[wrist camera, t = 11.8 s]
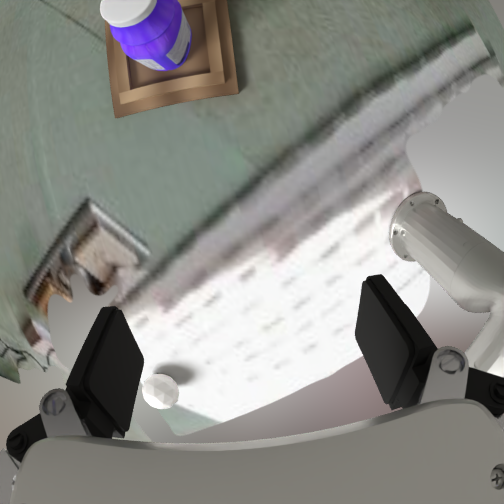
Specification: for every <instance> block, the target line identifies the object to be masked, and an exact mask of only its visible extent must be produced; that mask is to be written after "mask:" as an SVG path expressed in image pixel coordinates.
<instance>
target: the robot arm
mask: <svg viewBox="0 0 504 504" xmlns="http://www.w3.org/2000/svg"><path fill="white" fill-rule="evenodd" d="M389 240H390V245H391V247H392V249H393V251H394V252H395V253H396V254H397V255H398V256H399V257H400V258H401V259H403V260H405V261H413V262H414V261H416V262H418V263H419V264H420V265H421V266H422V267H423V268H424V269H425V270H426V272H427V273H428V274H429V275H430V276H431V277H432V278H433V279H434V280H435V281H436V282H437V283H438V284H439V285H440V286H441V287H442V288H443V289H444V290H445V291H446V292H447V293H448V295H449V296H450V297H451V298H452V299H453V300H454V301H455V302H456V303H457V304H458V305H459V306H460V307H461V308H462V309H464V310H466V311H468V312H472V313H486V312H490V316H489V318H488V320H487V321H486V323H485V325H484V327H483V328H482V330H481V331H480V333H479V334H478V336H477V337H476V338H475V340H474V341H473V342H472V344H471V345H470V346H469V348H468V349H467V350H466V352H465V353H463V352H462V351H461V350H459V349H458V348H455V347H451V346H445V347H441V348H439V349H437V347H436V346H435V344H434V343H433V341H432V340H431V338H430V337H429V335H428V334H427V333H426V331H425V330H424V328H423V327H422V325H421V324H420V323H419V321H418V320H417V318H416V317H415V316H414V314H413V313H412V312H411V310H410V309H409V308H408V306H407V305H406V304H404V302H403V301H402V300H401V298H400V297H399V296H398V294H397V293H396V292H395V290H394V289H393V288H392V286H391V285H390V284H389V283H388V281H387V280H386V279H385V277H384V276H383V275H381V274H379V275H373V276H368V277H367V278H366V281H363V283H362V289H361V297H360V304H359V310H358V317H357V323H356V329H355V338H356V341H357V343H358V345H359V347H360V349H361V351H362V354H363V356H364V358H365V360H366V362H367V364H368V367H369V369H370V371H371V373H372V376H373V378H374V380H375V382H376V384H377V387H378V389H379V391H380V394H381V396H382V398H383V401H384V403H385V404H389V405H390V408H391V410H394V409H397V408H400V407H402V408H403V409H401V410H398V411H395V412H392V413H389V414H385V415H382V416H378V417H375V418H371V419H367V420H363V421H359V422H356V423H352V424H348V425H344V426H339V427H335V428H331V429H326V430H321V431H316V432H310V433H305V434H299V435H293V436H287V437H279V438H271V439H262V440H252V441H241V442H225V443H193V444H191V443H189V444H187V443H155V442H140V441H128V440H118V439H112V437H117V438H124V436H125V432H127V431H128V430H129V427H130V422H131V417H132V412H133V408H134V404H135V398H136V395H137V390H138V386H139V382H140V378H141V374H142V370H143V366H144V358H143V355H142V353H141V351H140V349H139V347H138V345H137V343H136V341H135V339H134V336H133V334H132V332H131V330H130V328H129V326H128V323H127V321H126V319H125V317H124V314H123V312H122V311H121V310H118V308H117V307H116V306H111V307H103V308H102V309H101V310H100V312H99V314H98V316H97V318H96V320H95V322H94V324H93V326H92V328H91V330H90V332H89V334H88V336H87V338H86V340H85V342H84V344H83V346H82V349H81V351H80V353H79V355H78V357H77V359H76V362H75V364H74V366H73V368H72V371H71V373H70V375H69V378H68V380H67V383H66V386H67V388H66V390H64V389H60V388H58V389H53V390H50V391H49V392H48V393H46V394H45V395H44V397H42V399H41V401H40V405H39V410H40V414H38V415H37V416H35V417H33V418H32V419H30V420H29V421H27V422H25V423H24V424H22V425H20V426H19V427H17V428H16V429H14V430H13V431H12V432H11V433H10V434H9V436H8V438H7V443H6V446H7V450H5V449H2V450H1V451H0V504H504V252H503V251H501V250H500V249H499V248H497V247H496V246H495V245H493V244H492V243H491V242H489V241H488V240H486V239H485V238H484V237H482V236H481V235H479V234H478V233H476V232H475V231H474V230H472V229H471V228H469V227H468V226H467V225H465V224H464V223H463V221H462V219H461V218H458V219H456V218H455V217H453V216H451V215H450V214H448V213H447V210H446V207H445V205H444V203H443V201H442V200H441V199H440V198H439V197H437V196H436V195H434V194H432V193H429V192H419V193H416V194H413V195H411V196H410V197H408V198H407V199H406V200H404V201H403V203H402V204H401V205H400V206H399V207H398V209H397V210H396V212H395V214H394V216H393V218H392V221H391V224H390V230H389Z"/></svg>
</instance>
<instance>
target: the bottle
mask: <svg viewBox="0 0 504 504" xmlns="http://www.w3.org/2000/svg"><path fill="white" fill-rule="evenodd" d="M100 12H101V15H102V17H103V18H104V19H105V20H106V21H107V22H108V23H109V24H110V30H111V33H112V35H113V37H114V38H115V39H116V40H117V41H118V42H120V45H121V48H122V50H123V51H124V53H125V54H126V55H127V56H129V57H130V58H132V59H134V60H136V61H137V62H139V63H141V64H143V65H145V66H147V67H149V68H150V69H153V70H158V71H168V70H174V69H176V68H178V67H180V66H181V65H182V64H183V63H184V62H185V60H186V58H187V56H188V54H189V50H190V46H191V39H192V33H191V28H190V26H189V23H188V21H187V19H186V17H185V15H184V13H183V10H182V8H181V5H180V3H179V2H178V1H177V0H102V1H101V5H100Z"/></svg>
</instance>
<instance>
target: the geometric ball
mask: <svg viewBox="0 0 504 504" xmlns="http://www.w3.org/2000/svg"><path fill="white" fill-rule="evenodd" d="M142 391H143V396H144V399H145V400H146V401H147V402H148V403H149V404H150V406H152V407H155V408H158V409H165V408H170V407H171V406H172V405H174V404H175V403H176V402H177V401H178V396H179V389H178V386H177V383H176V382H175V381H174V380H173V379H172V378H171V377H170V376H168V375H164V374H152V375H151V376H150V377H149V378H148V379H146V380H145V381H144V384H143V388H142Z"/></svg>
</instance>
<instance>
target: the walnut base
mask: <svg viewBox="0 0 504 504" xmlns="http://www.w3.org/2000/svg"><path fill="white" fill-rule="evenodd" d="M177 1H178V2H179V3H180V5H181V8H182V10H183V13H184V15H185V17H186V19H187V21H188V23H189V26H190V28H191V33H192V39H191V46H190V50H189V54H188V56H187V58H186V60H185V62H184V63H183V64H182V65H181V66H180V67H178V68H176V69H174V70H168V71H158V70H153V69H150V68H149V67H147V66H145V65H143V64H141V63H139V62H137V61H136V60H134V59H132V58H130V57H129V56H127V55H126V54H125V53H124V51H123V50H122V48H121V45H120V42H118V41H117V40H116V39H115V38H114V37H113V35H112V33H111V30H110V24H109V23H108V22H107V21H106V20H105V32H106V47H107V59H108V69H109V78H110V86H111V94H112V101H113V108H114V115H115V118H120V117H123V116H127V115H131V114H134V113H138V112H142V111H146V110H150V109H155V108H159V107H163V106H168V105H173V104H178V103H183V102H188V101H194V100H199V99H205V98H212V97H219V96H226V95H234V94H238V93H239V92H238V84H237V76H236V68H235V60H234V52H233V44H232V36H231V28H230V21H229V13H228V5H227V0H177Z"/></svg>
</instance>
